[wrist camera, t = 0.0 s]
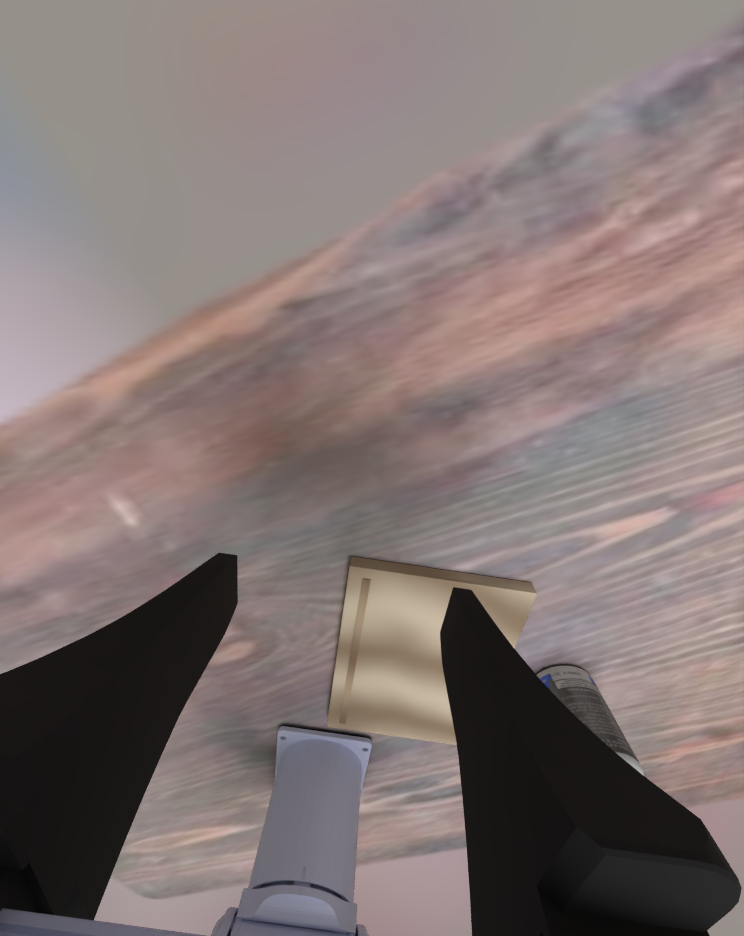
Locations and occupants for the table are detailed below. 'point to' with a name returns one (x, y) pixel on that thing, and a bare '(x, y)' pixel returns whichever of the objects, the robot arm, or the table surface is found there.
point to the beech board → (407, 645)
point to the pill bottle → (588, 707)
